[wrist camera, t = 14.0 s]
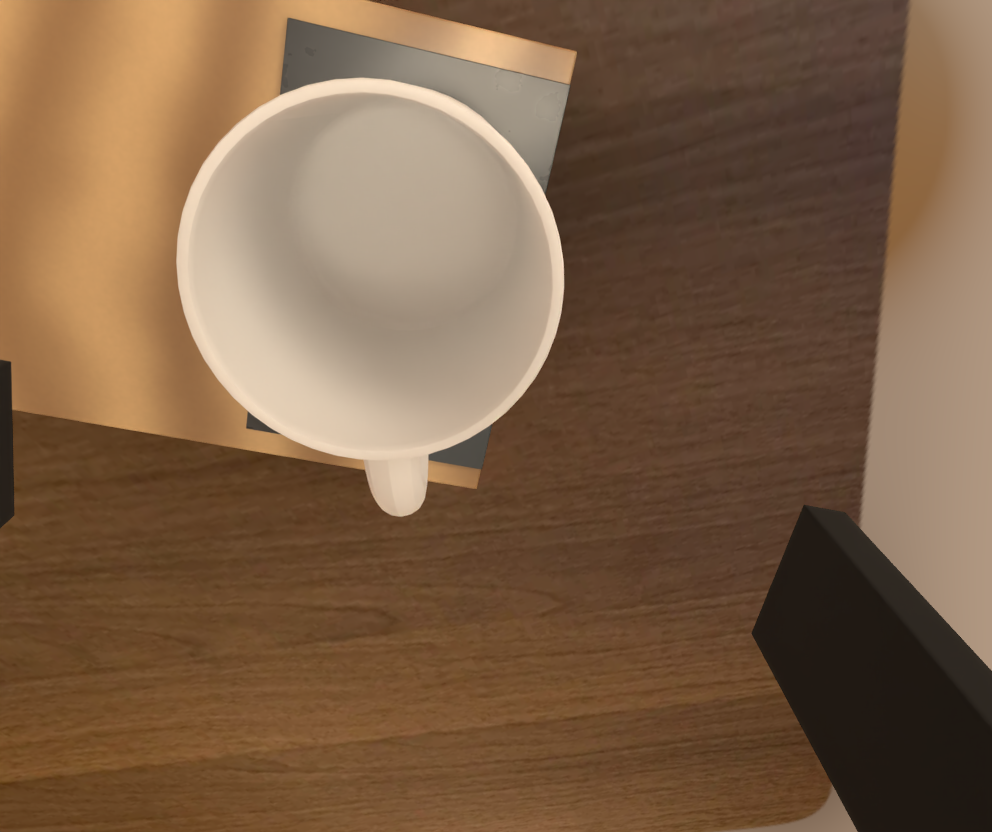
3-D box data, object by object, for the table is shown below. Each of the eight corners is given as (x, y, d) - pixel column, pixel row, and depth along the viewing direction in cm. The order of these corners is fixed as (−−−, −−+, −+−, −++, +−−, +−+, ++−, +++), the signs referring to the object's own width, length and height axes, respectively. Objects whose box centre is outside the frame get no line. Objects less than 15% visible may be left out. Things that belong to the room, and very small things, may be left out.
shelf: (556, 60, 30) (592, 45, 22) (474, 429, 36) (478, 529, 27) (-42, -85, 27) (-261, -165, 19) (-25, 339, 33) (-187, 419, 25)
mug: (522, 430, 29) (551, 592, 20) (301, 432, 29) (223, 598, 19) (530, 86, 25) (574, 79, 15) (268, 83, 24) (143, 74, 15)
